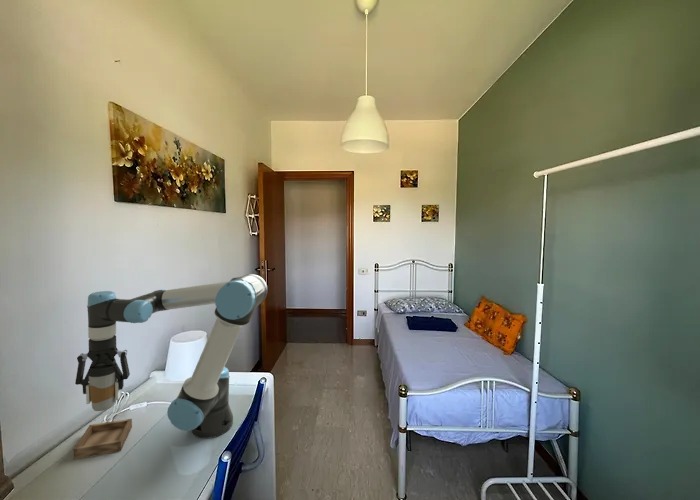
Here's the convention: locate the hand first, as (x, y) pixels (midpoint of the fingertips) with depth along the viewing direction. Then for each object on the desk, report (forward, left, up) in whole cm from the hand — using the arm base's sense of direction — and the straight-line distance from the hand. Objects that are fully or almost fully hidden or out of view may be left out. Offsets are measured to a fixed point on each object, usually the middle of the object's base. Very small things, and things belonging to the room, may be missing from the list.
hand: (103, 399), depth 110 cm
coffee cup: (0, 0, -2) cm, 2 cm away
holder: (0, 0, -16) cm, 16 cm away
